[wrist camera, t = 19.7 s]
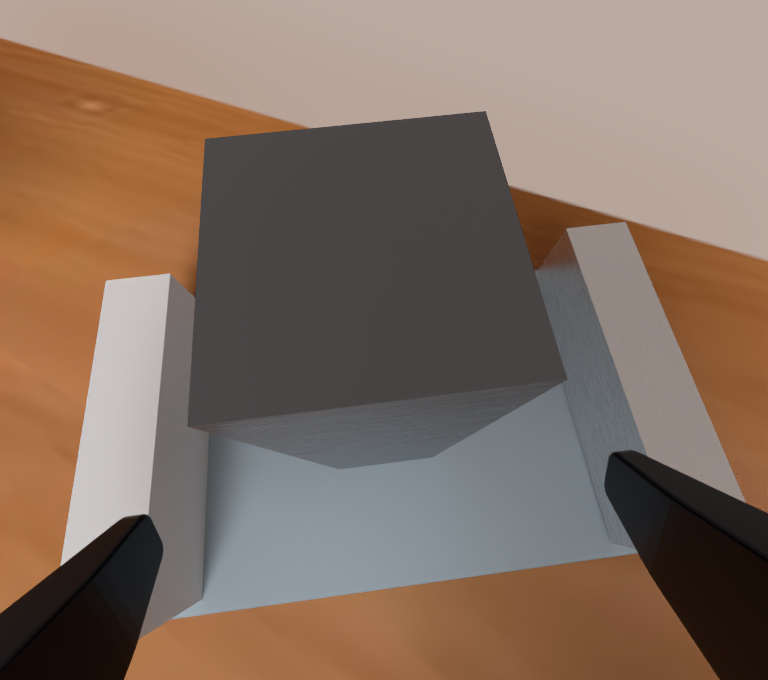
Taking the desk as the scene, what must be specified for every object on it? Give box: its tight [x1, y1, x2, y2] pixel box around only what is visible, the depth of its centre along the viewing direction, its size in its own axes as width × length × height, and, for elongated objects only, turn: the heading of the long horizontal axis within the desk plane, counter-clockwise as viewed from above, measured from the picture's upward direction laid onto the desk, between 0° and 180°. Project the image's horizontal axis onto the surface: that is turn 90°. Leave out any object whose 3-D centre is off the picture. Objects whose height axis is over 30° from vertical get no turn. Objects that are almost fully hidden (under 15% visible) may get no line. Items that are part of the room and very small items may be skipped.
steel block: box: [187, 111, 568, 470], centre depth 11 cm, size 4×4×13 cm
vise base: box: [61, 270, 638, 639], centre depth 15 cm, size 22×13×5 cm, turn 97°
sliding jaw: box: [535, 222, 746, 549], centre depth 15 cm, size 2×12×4 cm, turn 7°
